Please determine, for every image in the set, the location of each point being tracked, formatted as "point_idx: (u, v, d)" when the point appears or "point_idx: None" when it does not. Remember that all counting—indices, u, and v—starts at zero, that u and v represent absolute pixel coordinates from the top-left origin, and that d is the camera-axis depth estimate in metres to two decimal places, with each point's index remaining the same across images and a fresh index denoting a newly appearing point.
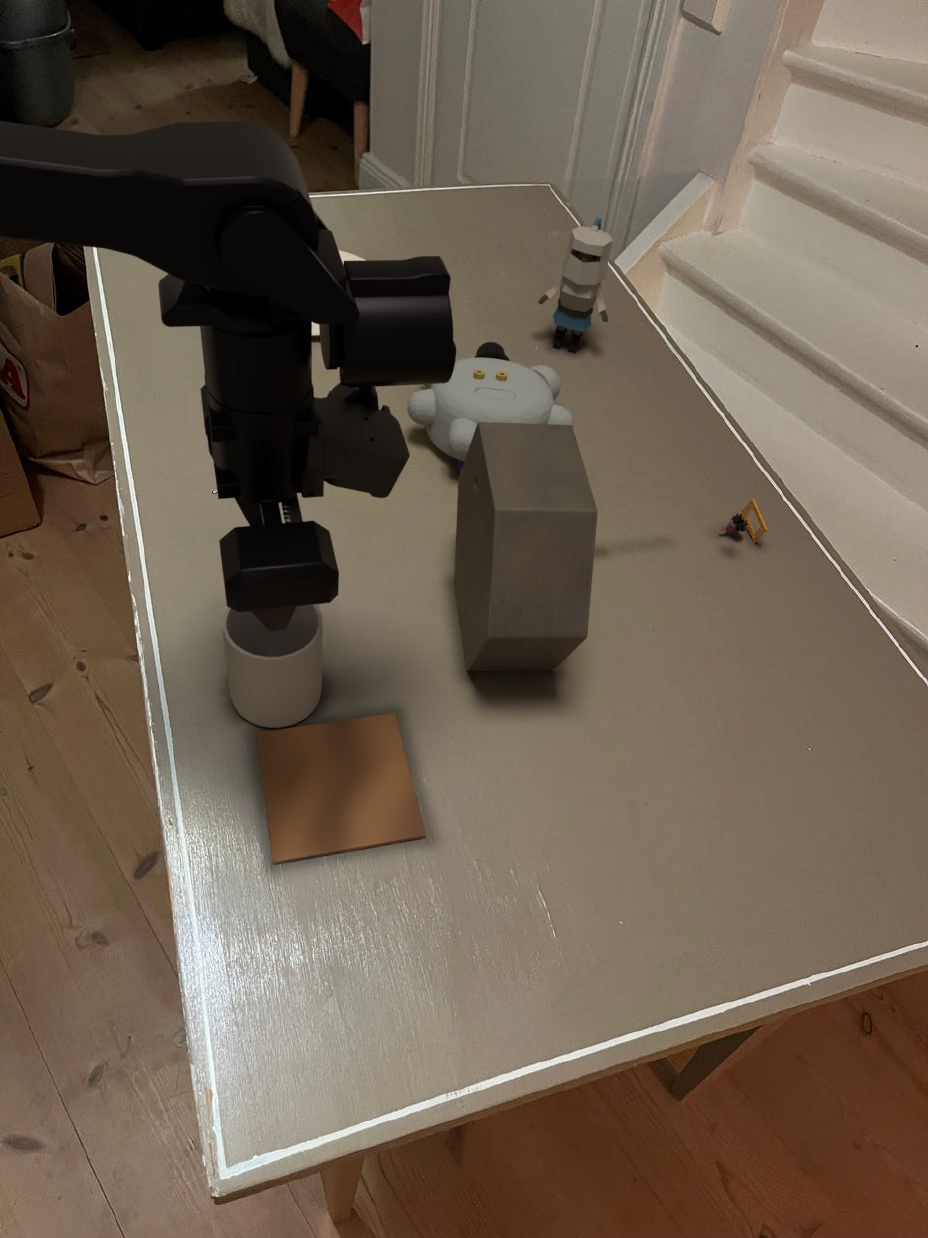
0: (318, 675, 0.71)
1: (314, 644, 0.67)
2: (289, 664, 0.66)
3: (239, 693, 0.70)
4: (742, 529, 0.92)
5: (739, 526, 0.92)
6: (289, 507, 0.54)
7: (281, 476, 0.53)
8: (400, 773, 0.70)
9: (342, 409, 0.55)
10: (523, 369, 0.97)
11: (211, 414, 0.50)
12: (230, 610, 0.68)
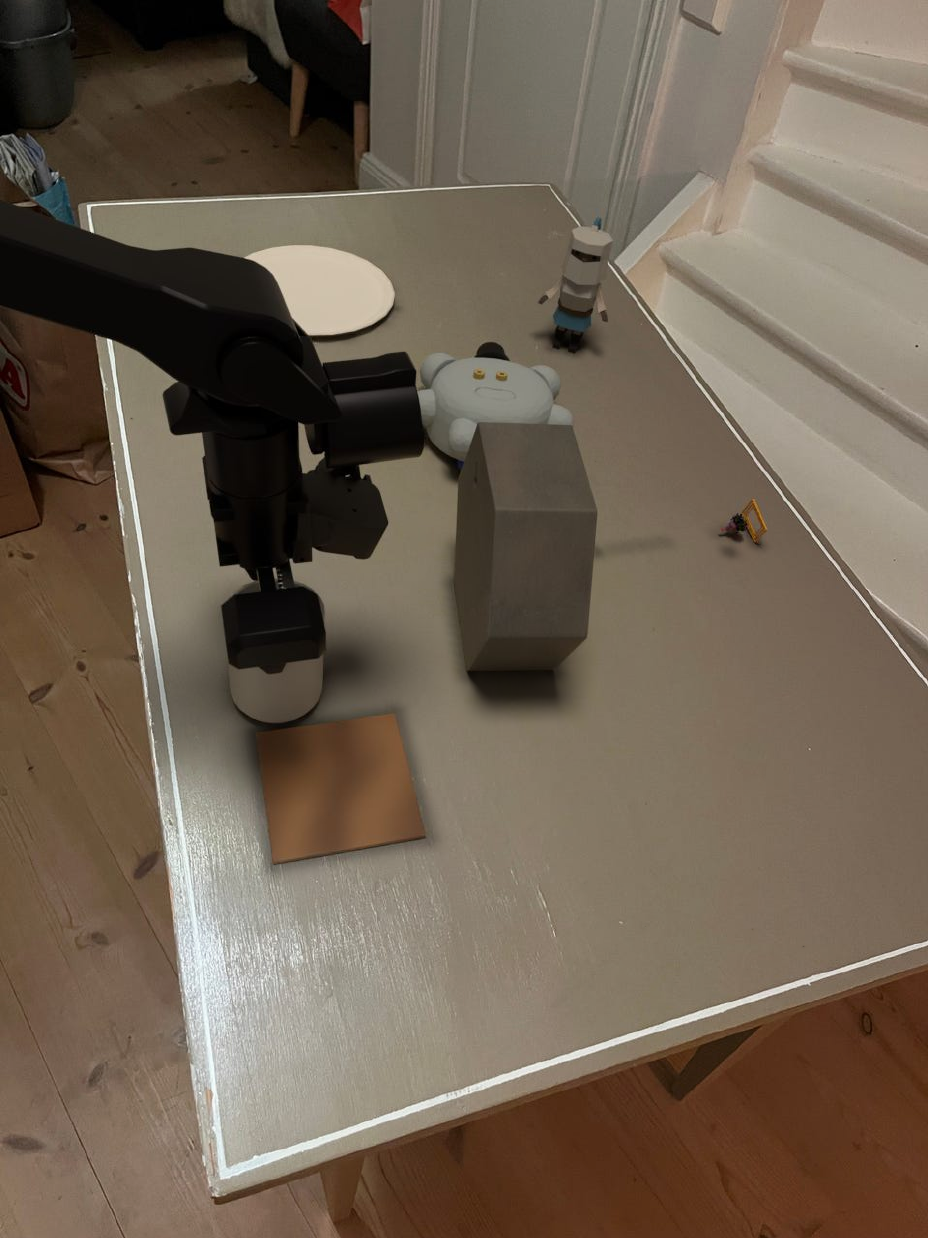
0: (319, 668, 0.71)
1: None
2: None
3: (240, 684, 0.69)
4: (742, 529, 0.92)
5: (739, 526, 0.92)
6: (282, 571, 0.62)
7: (275, 547, 0.60)
8: (400, 773, 0.70)
9: (328, 482, 0.62)
10: (523, 369, 0.97)
11: (212, 497, 0.57)
12: None
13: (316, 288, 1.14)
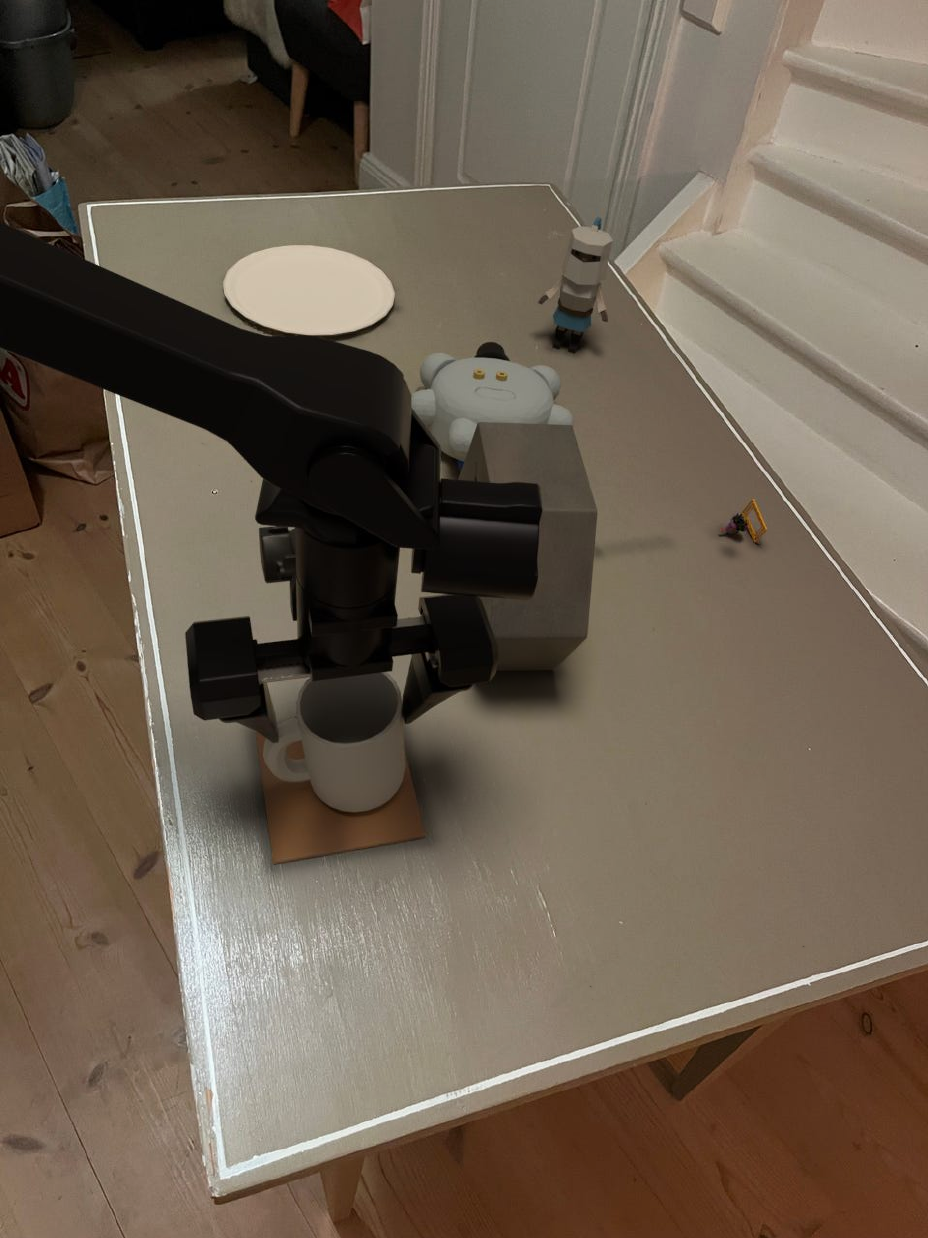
0: None
1: None
2: None
3: (390, 774, 0.65)
4: (742, 529, 0.92)
5: (739, 526, 0.92)
6: None
7: None
8: None
9: None
10: (523, 369, 0.97)
11: (377, 616, 0.51)
12: None
13: (316, 288, 1.14)
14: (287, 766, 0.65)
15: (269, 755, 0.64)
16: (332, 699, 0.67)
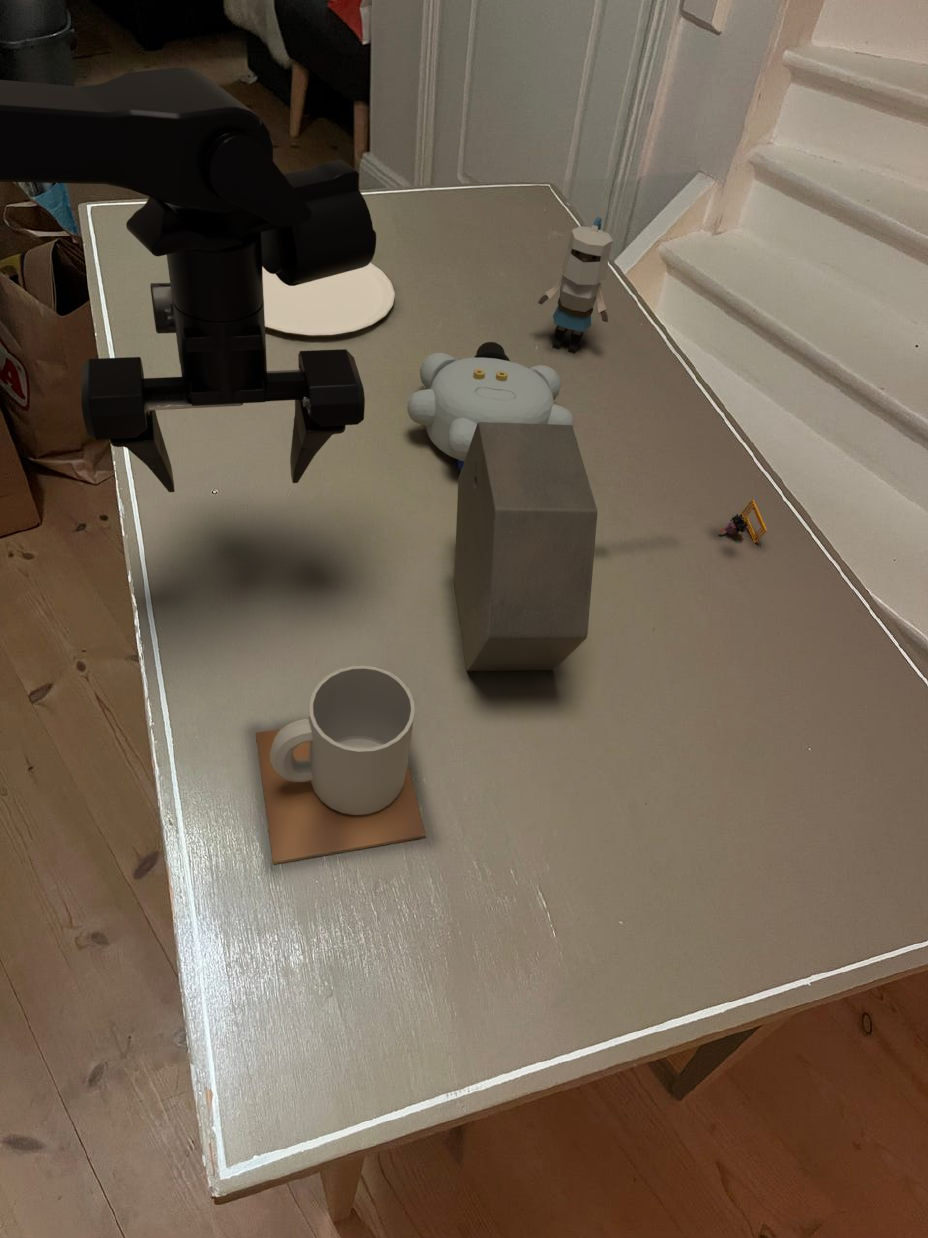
0: None
1: None
2: None
3: (395, 780, 0.66)
4: (742, 530, 0.92)
5: (739, 527, 0.92)
6: None
7: None
8: None
9: None
10: (523, 369, 0.97)
11: (243, 335, 0.59)
12: None
13: (316, 288, 1.14)
14: (292, 766, 0.65)
15: (277, 754, 0.64)
16: (340, 701, 0.67)
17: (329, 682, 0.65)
